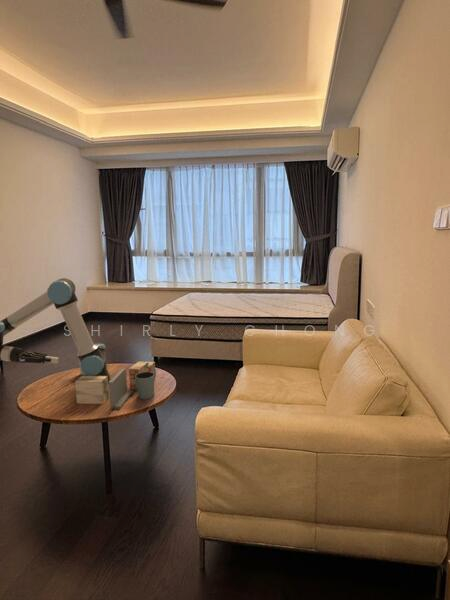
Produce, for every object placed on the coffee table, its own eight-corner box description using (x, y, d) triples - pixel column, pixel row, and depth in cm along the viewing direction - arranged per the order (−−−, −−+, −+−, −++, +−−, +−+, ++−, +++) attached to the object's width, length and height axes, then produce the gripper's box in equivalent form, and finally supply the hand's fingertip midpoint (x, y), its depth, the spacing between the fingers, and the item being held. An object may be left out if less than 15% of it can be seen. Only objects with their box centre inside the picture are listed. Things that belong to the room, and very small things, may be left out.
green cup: (158, 393, 210) (157, 372, 208) (150, 400, 200) (149, 378, 199) (141, 391, 213) (140, 370, 211) (132, 399, 203) (131, 377, 201)
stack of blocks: (146, 375, 238) (145, 356, 236) (156, 376, 236) (155, 357, 234) (129, 389, 217) (128, 368, 215) (140, 389, 216) (138, 368, 214)
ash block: (83, 397, 207) (81, 375, 205) (109, 397, 206) (107, 376, 204) (76, 403, 199) (75, 381, 197) (103, 403, 198) (101, 381, 196)
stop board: (123, 392, 212) (122, 368, 209) (132, 392, 211) (131, 368, 209) (110, 408, 192) (108, 382, 190) (120, 409, 191) (118, 382, 189)
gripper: (19, 357, 207) (62, 363, 208) (5, 365, 195) (52, 371, 195) (19, 343, 206) (63, 349, 206) (5, 351, 193) (52, 357, 194)
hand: (58, 360), depth 201 cm, fingers closed
